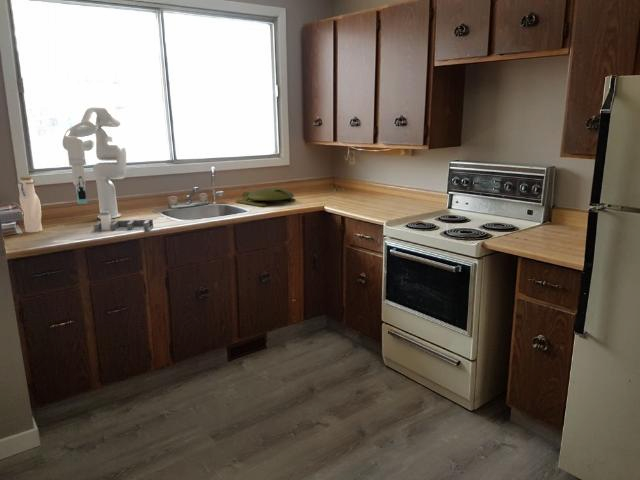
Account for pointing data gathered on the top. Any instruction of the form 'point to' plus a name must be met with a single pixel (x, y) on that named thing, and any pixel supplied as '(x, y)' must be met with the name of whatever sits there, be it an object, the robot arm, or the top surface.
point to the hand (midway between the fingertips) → (82, 198)
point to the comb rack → (126, 225)
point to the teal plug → (80, 201)
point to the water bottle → (30, 205)
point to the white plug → (105, 220)
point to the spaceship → (266, 196)
